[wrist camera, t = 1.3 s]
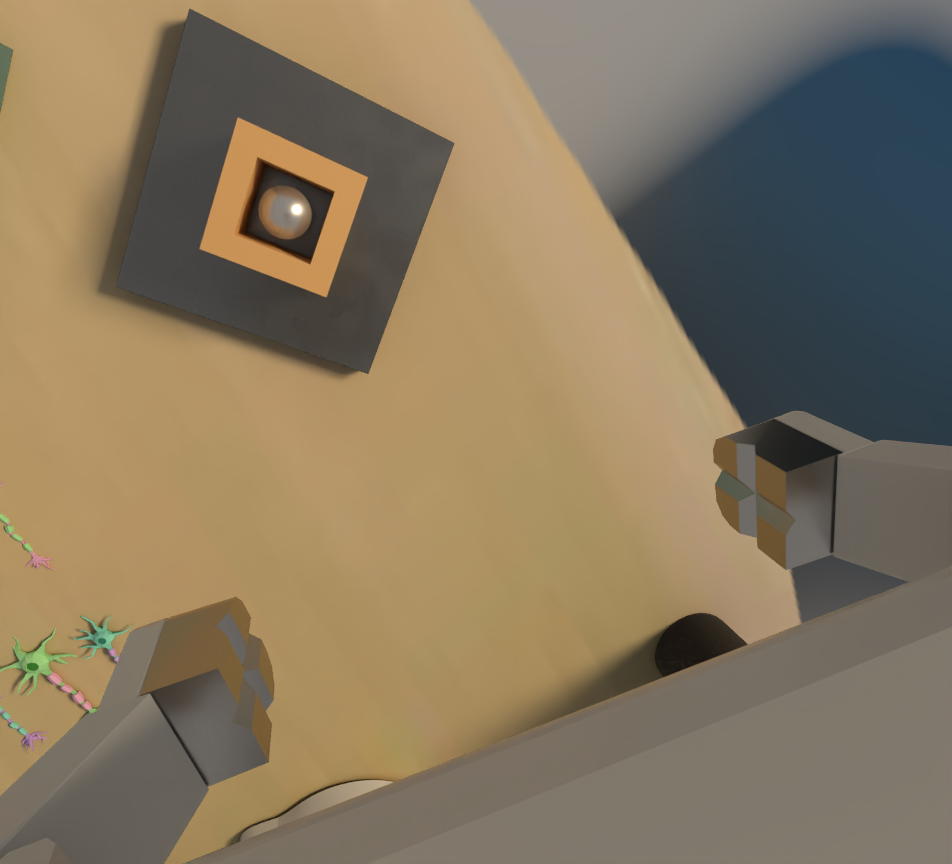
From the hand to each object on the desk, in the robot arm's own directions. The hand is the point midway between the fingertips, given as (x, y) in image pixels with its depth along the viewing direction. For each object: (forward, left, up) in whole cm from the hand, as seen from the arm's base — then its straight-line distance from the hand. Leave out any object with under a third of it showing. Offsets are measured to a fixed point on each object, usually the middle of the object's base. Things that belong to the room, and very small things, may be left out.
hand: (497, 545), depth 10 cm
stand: (+3, +6, -29) cm, 30 cm away
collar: (+3, +6, -28) cm, 29 cm away
